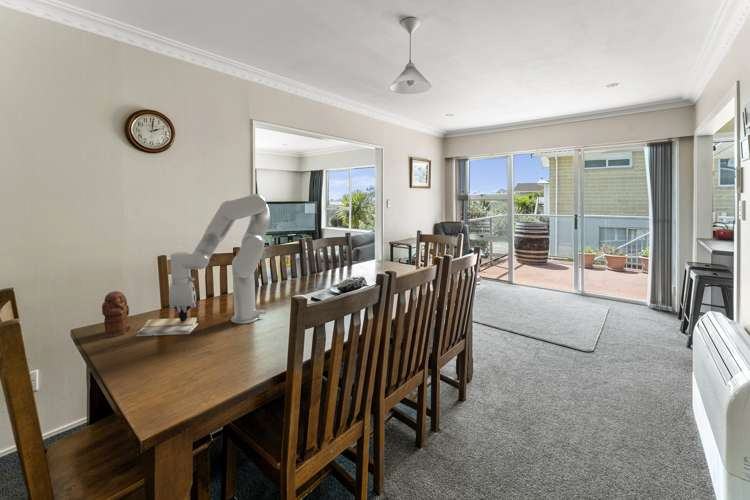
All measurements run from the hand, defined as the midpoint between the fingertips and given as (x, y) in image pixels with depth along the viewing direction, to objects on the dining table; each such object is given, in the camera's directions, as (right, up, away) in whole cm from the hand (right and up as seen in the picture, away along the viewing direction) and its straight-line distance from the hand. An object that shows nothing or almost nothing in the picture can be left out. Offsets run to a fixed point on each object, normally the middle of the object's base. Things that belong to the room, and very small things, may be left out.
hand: (183, 320), depth 162 cm
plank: (-5, -2, -1) cm, 6 cm away
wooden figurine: (-24, -4, -7) cm, 25 cm away
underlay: (-5, -4, -3) cm, 7 cm away
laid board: (-4, -4, -6) cm, 9 cm away
